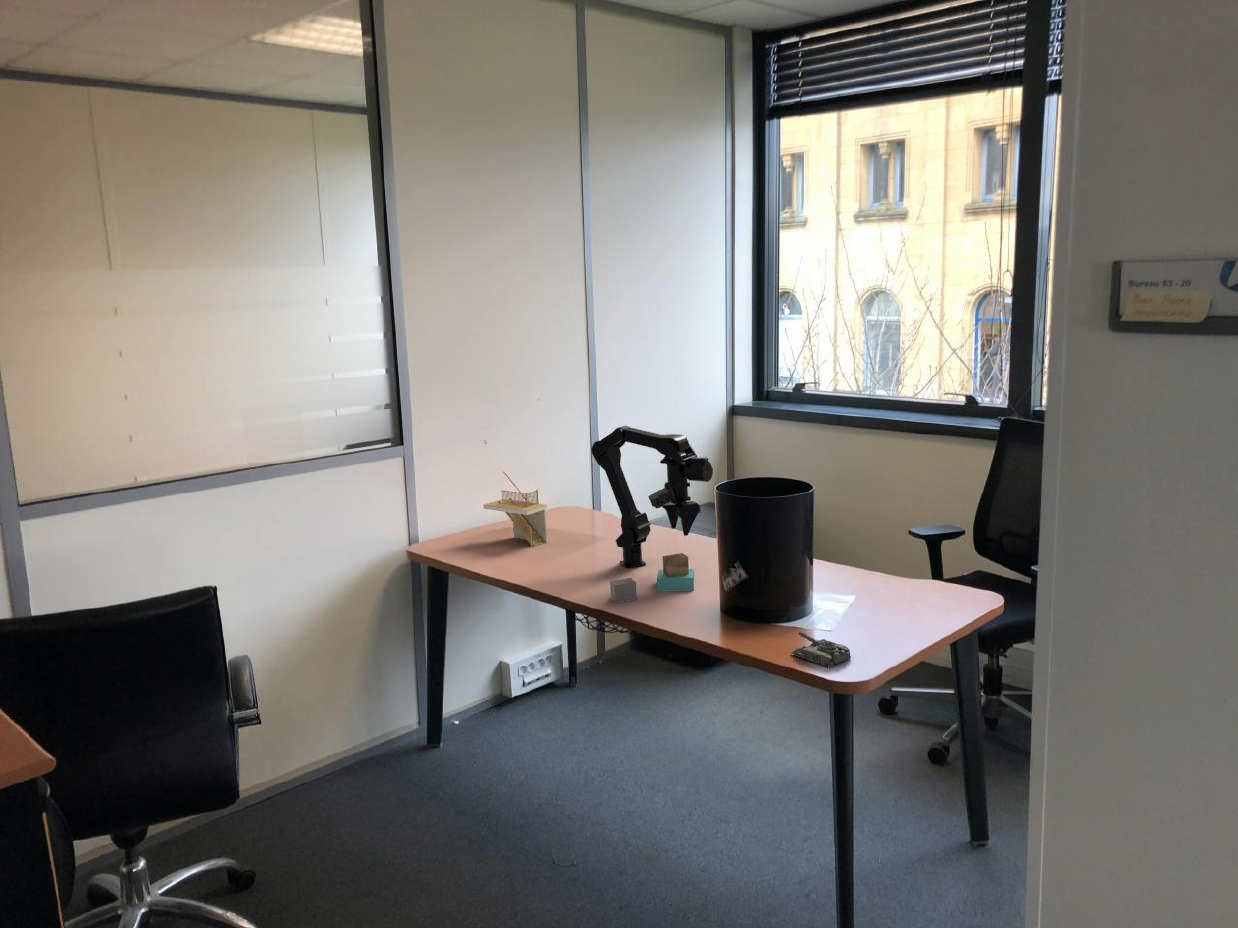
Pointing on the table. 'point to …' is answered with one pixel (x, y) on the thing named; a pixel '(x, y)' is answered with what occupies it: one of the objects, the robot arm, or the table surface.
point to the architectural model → (523, 515)
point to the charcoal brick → (623, 590)
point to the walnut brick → (675, 565)
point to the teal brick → (675, 582)
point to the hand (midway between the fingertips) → (679, 531)
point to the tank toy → (823, 651)
